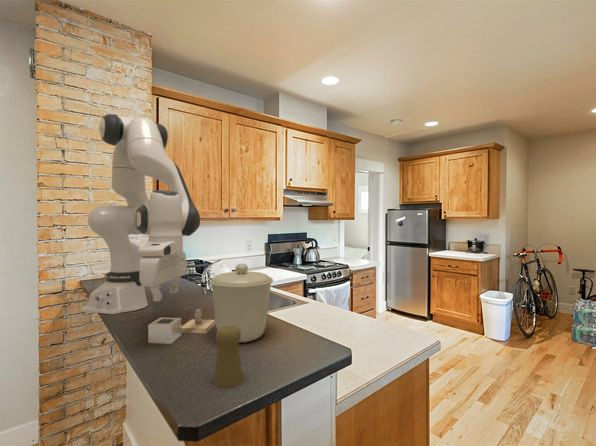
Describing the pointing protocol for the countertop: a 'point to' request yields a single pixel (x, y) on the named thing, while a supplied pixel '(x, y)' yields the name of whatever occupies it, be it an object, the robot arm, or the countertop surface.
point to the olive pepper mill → (228, 357)
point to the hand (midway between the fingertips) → (166, 296)
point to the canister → (242, 301)
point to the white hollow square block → (164, 330)
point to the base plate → (197, 324)
